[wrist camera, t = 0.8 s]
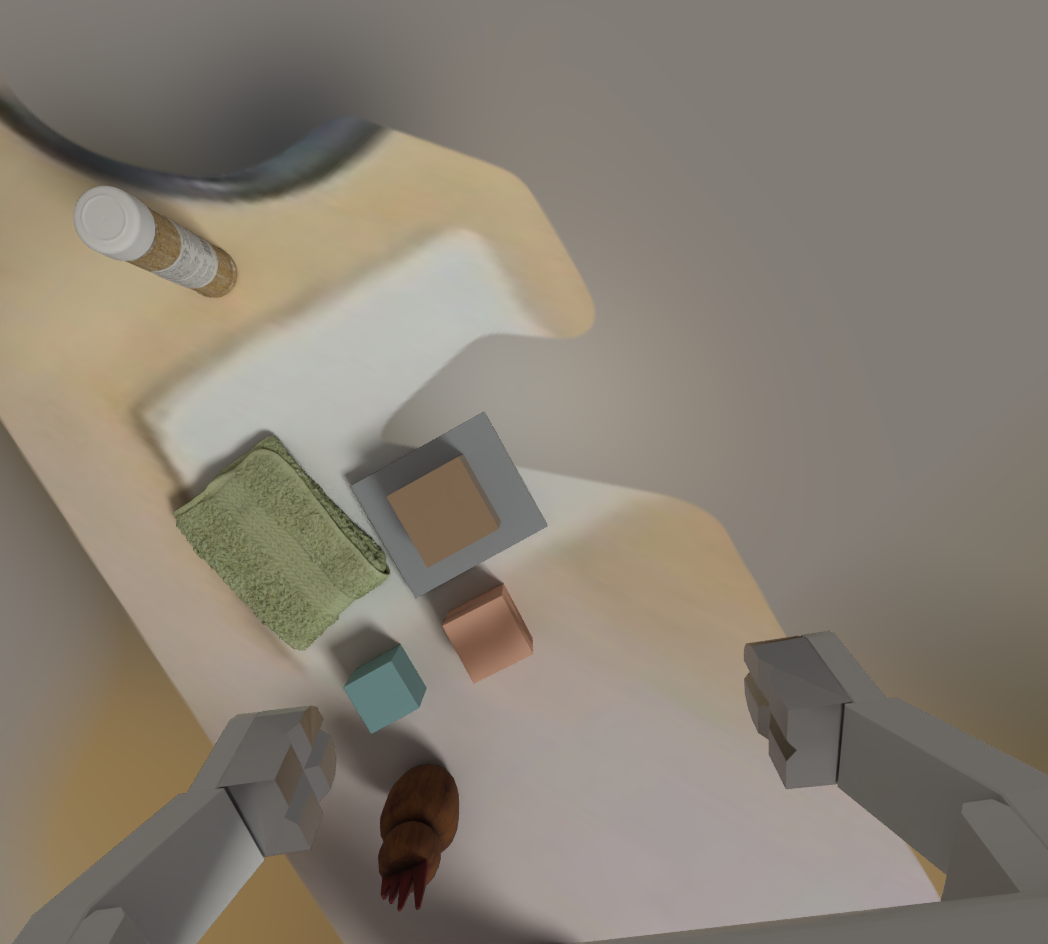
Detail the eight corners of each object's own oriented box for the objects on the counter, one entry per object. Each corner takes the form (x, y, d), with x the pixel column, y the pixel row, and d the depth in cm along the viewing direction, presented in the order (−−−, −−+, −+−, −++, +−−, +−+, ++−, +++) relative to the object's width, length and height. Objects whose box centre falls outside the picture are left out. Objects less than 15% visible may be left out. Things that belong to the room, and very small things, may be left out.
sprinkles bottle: (182, 259, 51) (58, 197, 37) (228, 241, 50) (120, 172, 37) (202, 307, 51) (86, 262, 37) (247, 288, 51) (148, 237, 37)
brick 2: (532, 636, 53) (532, 653, 49) (477, 664, 54) (473, 683, 50) (503, 582, 53) (501, 595, 49) (448, 611, 53) (442, 625, 49)
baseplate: (546, 523, 52) (549, 534, 47) (418, 593, 53) (406, 612, 47) (484, 412, 52) (480, 410, 46) (355, 484, 52) (335, 490, 47)
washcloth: (275, 427, 52) (259, 427, 49) (401, 565, 53) (393, 574, 50) (176, 518, 53) (153, 524, 50) (302, 653, 54) (288, 667, 51)
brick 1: (426, 687, 54) (419, 707, 50) (382, 711, 54) (371, 733, 50) (400, 643, 53) (391, 660, 49) (356, 668, 54) (343, 687, 50)
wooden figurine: (464, 755, 54) (440, 879, 39) (464, 811, 54) (441, 955, 39) (394, 754, 54) (345, 878, 39) (395, 810, 54) (346, 954, 40)
